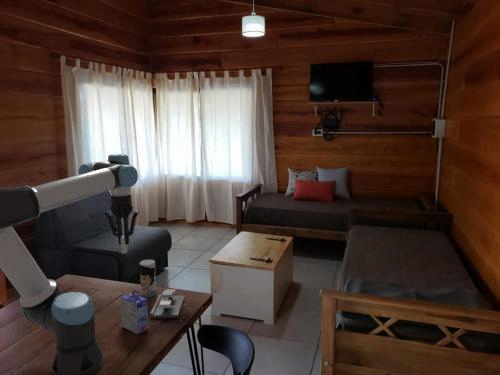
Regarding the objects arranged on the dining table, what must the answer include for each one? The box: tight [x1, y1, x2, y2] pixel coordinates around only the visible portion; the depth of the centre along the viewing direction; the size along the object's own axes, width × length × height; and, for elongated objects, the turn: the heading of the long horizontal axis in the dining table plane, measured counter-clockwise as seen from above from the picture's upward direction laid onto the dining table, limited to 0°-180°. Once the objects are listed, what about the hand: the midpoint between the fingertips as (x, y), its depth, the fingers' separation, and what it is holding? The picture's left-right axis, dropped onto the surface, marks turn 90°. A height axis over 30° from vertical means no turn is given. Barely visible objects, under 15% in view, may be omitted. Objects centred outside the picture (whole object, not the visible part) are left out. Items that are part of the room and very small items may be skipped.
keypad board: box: [149, 293, 185, 319], centre depth 161 cm, size 17×11×2 cm, turn 1°
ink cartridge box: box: [120, 289, 149, 335], centre depth 145 cm, size 10×6×14 cm, turn 55°
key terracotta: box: [166, 288, 177, 296], centre depth 165 cm, size 4×4×1 cm
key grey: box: [161, 290, 173, 298], centre depth 160 cm, size 4×4×1 cm
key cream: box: [160, 300, 171, 308], centre depth 156 cm, size 4×4×1 cm
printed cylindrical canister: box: [139, 259, 157, 298], centre depth 173 cm, size 7×7×15 cm
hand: (124, 252), depth 152 cm, fingers closed
